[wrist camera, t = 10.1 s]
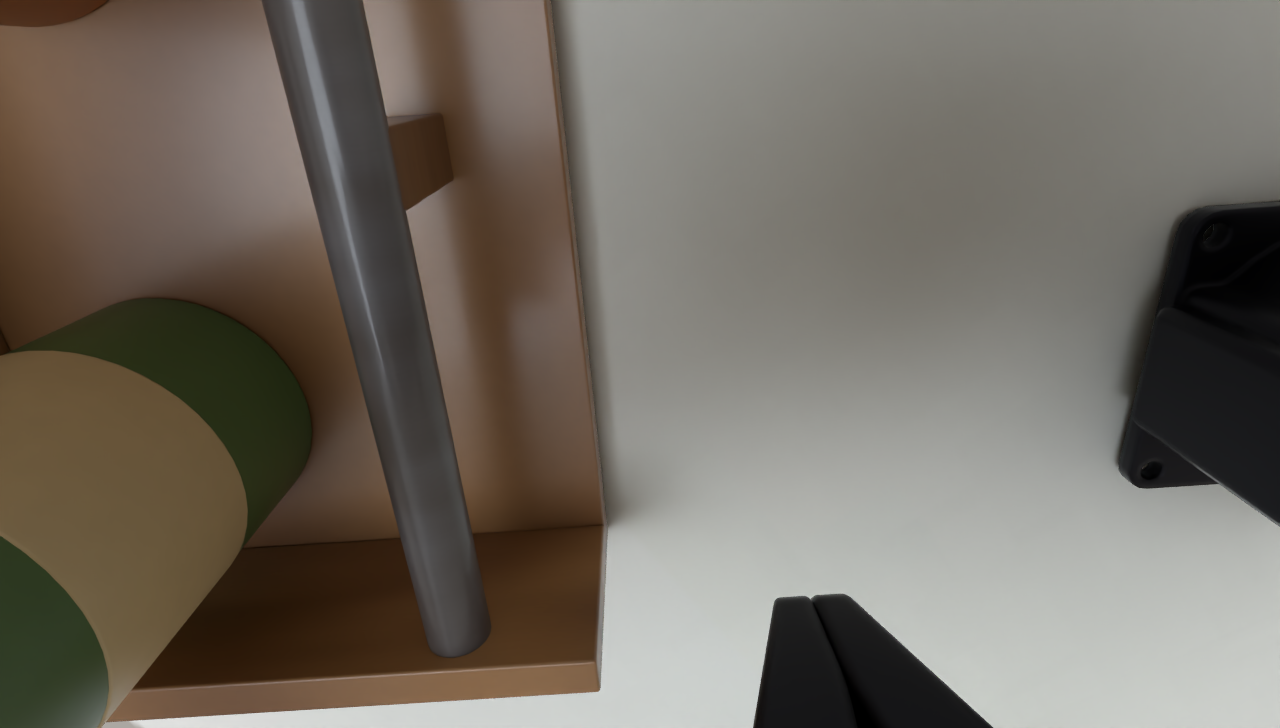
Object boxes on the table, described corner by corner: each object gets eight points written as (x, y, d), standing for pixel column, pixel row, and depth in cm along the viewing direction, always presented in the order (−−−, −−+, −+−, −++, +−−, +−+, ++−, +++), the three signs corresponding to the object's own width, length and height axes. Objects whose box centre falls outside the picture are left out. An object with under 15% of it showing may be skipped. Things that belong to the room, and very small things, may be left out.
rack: (489, -577, 9) (334, -1286, 4) (607, 530, 17) (599, 722, 12) (-392, -499, 10) (-1477, -1097, 5) (112, 563, 17) (-96, 764, 12)
